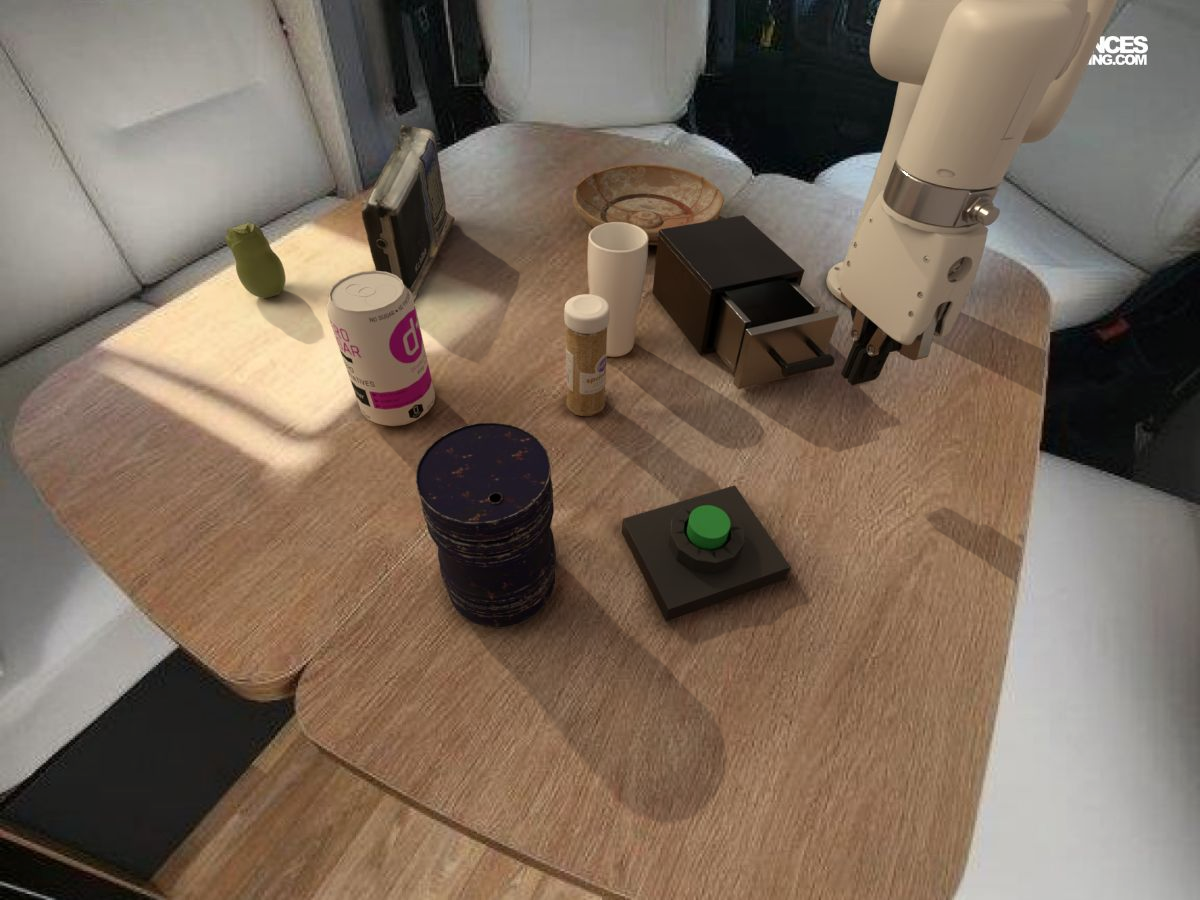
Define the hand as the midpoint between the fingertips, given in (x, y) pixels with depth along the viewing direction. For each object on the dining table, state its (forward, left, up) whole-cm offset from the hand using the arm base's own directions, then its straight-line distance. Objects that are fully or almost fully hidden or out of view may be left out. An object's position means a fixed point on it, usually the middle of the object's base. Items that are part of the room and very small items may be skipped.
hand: (858, 377), depth 61 cm
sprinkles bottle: (+23, -15, -10) cm, 29 cm away
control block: (+20, +8, -10) cm, 23 cm away
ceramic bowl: (-1, -52, -10) cm, 53 cm away
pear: (+56, -50, -10) cm, 76 cm away
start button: (+20, +8, -6) cm, 22 cm away
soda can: (+43, -22, -10) cm, 49 cm away
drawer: (0, -15, -9) cm, 18 cm away
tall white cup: (+16, -24, -10) cm, 31 cm away
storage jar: (+38, +4, -10) cm, 39 cm away
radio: (+35, -53, -10) cm, 64 cm away
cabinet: (0, -26, -10) cm, 28 cm away
